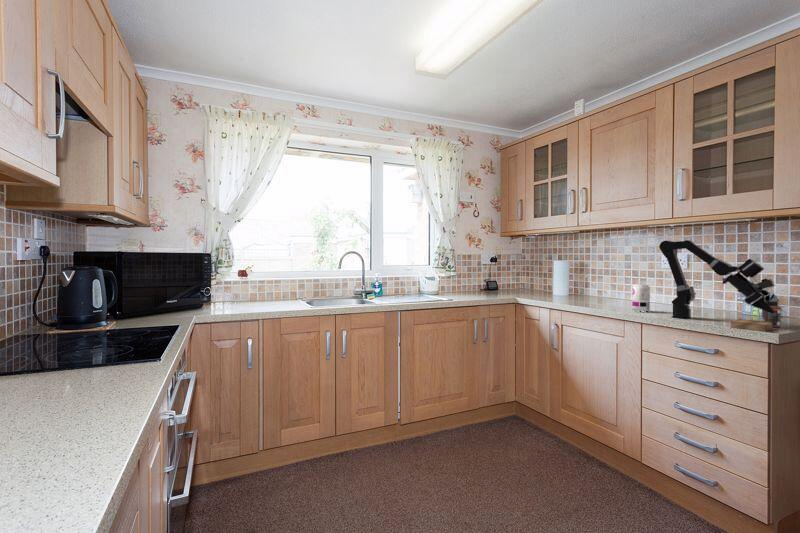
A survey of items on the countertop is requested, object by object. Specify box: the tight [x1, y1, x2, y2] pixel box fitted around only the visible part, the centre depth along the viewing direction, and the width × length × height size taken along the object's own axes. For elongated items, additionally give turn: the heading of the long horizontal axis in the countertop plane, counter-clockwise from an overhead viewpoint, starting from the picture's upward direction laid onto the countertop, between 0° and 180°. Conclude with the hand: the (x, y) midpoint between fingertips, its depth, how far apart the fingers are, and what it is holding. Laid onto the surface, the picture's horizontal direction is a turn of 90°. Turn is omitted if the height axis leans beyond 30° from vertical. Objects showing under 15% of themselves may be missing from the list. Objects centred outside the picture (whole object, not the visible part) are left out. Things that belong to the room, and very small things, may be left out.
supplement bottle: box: [761, 300, 782, 329], centre depth 172 cm, size 6×6×11 cm
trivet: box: [730, 318, 773, 332], centre depth 169 cm, size 11×11×3 cm
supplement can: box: [631, 283, 651, 313], centre depth 220 cm, size 8×8×15 cm
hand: (775, 311), depth 171 cm, fingers open, 9 cm apart
